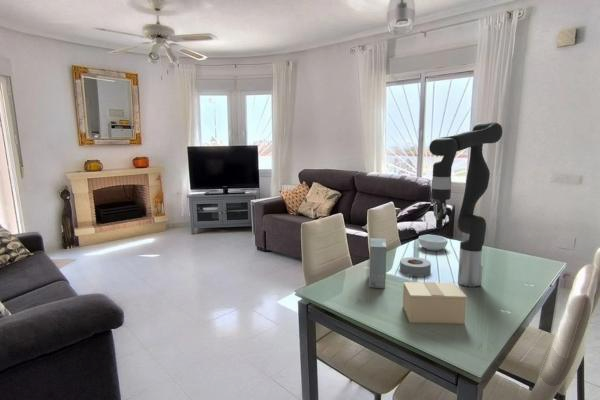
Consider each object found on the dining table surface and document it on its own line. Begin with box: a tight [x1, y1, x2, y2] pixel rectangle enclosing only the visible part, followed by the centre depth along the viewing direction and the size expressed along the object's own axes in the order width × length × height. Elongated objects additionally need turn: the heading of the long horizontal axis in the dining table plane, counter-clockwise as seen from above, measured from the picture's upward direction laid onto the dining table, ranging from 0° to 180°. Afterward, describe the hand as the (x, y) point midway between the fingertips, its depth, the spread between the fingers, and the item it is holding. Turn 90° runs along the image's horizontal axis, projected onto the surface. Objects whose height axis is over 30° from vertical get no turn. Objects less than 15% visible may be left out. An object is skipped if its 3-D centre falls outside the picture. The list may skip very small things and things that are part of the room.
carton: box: [402, 284, 467, 325], centre depth 132 cm, size 20×12×10 cm, turn 85°
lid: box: [403, 281, 468, 300], centre depth 131 cm, size 20×12×1 cm, turn 85°
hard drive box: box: [368, 237, 387, 289], centre depth 164 cm, size 16×8×20 cm, turn 168°
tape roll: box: [399, 256, 432, 277], centre depth 179 cm, size 15×15×5 cm
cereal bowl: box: [418, 234, 448, 252], centre depth 215 cm, size 17×17×7 cm
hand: (439, 228), depth 143 cm, fingers closed
